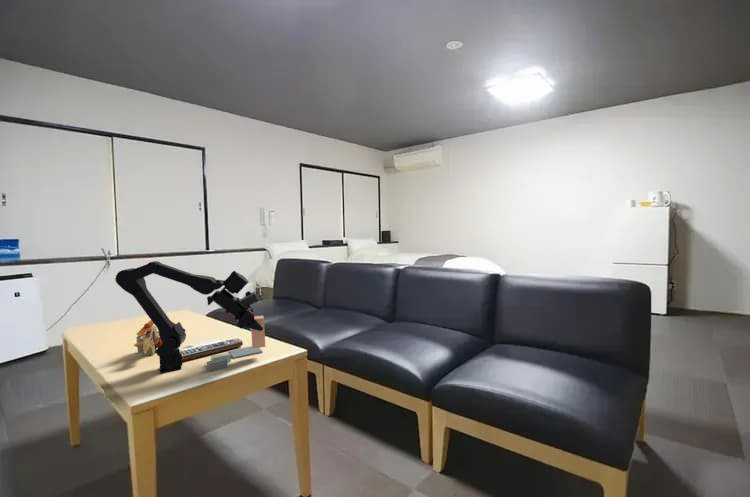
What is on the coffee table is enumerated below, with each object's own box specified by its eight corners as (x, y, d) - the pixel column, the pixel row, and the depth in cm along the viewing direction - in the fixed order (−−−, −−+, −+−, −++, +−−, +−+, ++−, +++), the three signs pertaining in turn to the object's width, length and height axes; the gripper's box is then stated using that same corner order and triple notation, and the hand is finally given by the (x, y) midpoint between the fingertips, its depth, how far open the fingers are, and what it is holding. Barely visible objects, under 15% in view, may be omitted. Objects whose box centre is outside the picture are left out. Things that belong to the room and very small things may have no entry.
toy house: (167, 346, 151) (165, 315, 150) (155, 364, 131) (152, 327, 130) (145, 349, 148) (143, 317, 147) (129, 367, 128) (126, 330, 127)
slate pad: (233, 358, 134) (233, 357, 134) (228, 352, 141) (228, 350, 141) (262, 352, 140) (262, 351, 140) (256, 346, 147) (256, 345, 147)
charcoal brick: (209, 372, 122) (209, 364, 122) (207, 370, 124) (206, 361, 124) (227, 367, 126) (227, 359, 126) (224, 365, 128) (224, 357, 128)
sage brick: (213, 366, 127) (213, 358, 127) (211, 364, 129) (210, 356, 129) (230, 362, 131) (230, 354, 131) (228, 360, 133) (227, 352, 133)
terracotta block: (252, 348, 131) (251, 319, 131) (252, 345, 136) (250, 316, 135) (265, 346, 133) (264, 318, 133) (264, 343, 137) (263, 315, 137)
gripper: (245, 289, 123) (279, 317, 128) (243, 282, 140) (273, 307, 145) (222, 314, 120) (257, 341, 125) (223, 304, 138) (254, 328, 142)
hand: (261, 328), depth 135 cm, fingers closed on terracotta block, 4 cm apart
